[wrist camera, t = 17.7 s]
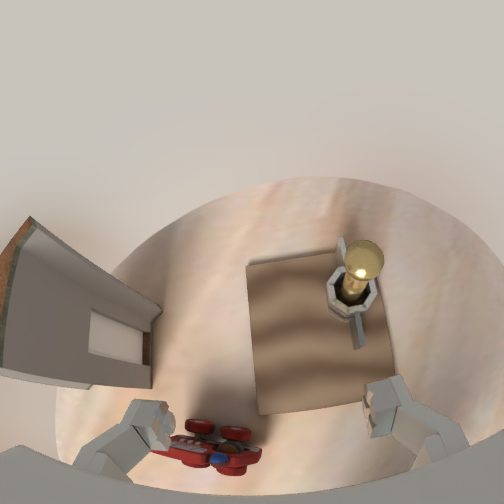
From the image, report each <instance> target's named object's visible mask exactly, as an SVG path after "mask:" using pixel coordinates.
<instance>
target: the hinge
mask: <svg viewBox="0 0 504 504" xmlns="http://www.w3.org/2000/svg"><path fill="white" fill-rule="evenodd" d="M345 253H346V246H345V242H344V238H343V237H338V241H337V247H336V253H335V254H336V258H337V263H338V268H337V269H336V271H335V272H334V273H333V275H332V276H331V278H330V279H329V280H328V282H327V284H326V289H325V299H326V305H327V311H328V313H330V314H331V315H333V316H334V317H336V318H337V319H338V320H340V321H341V322H346V321H349V325H350V330H351V337H352V343H353V349H354V350H359V349H360V348H362V347H363V346H365V345H366V344H365V338H364V332H363V327H362V321H361V317H362V316H363V315H364V313H365V312H366V311H367V309H368V308H369V306H370V305H371V303H372V302H373V300H374V298H375V297H376V295H377V289H376V285H375V281H374V279H372V280H370V281H368V283H367V285H366V287H365V289H364V291H363V292H362V295H363V300H364V304H363V305H358V306H352V307H347V306H346V305H345V304H343V303H342V302H340V301H339V300H337V299H336V296H335V291H334V290H335V289H336V288H337V286H338V285H342V284H343V281H344V277H345V274H346V269H345V267H344V257H345Z"/></svg>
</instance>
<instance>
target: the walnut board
mask: <svg viewBox="0 0 504 504" xmlns="http://www.w3.org/2000/svg"><path fill="white" fill-rule="evenodd" d="M335 253H336V252H333V253H327V254H320V255H314V256H308V257H302V258H295V259H289V260H282V261H276V262H269V263H263V264H256V265H250V266H246V278H247V290H248V302H249V314H250V326H251V337H252V349H253V360H254V371H255V382H256V393H257V404H258V415H270V414H281V413H290V412H299V411H307V410H314V409H320V408H327V407H333V406H338V405H344V404H349V403H354V402H359V401H362V400H363V396H364V395H365V394H364V390H363V387H364V383H367V382H372V381H376V380H380V379H384V378H388V377H392V376H395V370H394V363H393V357H392V350H391V344H390V339H389V333H388V328H387V323H386V318H385V313H384V308H383V303H382V299H381V294H380V290H379V286H378V281H377V277H376V278H374V281H375V285H376V289H377V295H376V297H375V298H374V300H373V302H372V303H371V305H370V306H369V308H368V309H367V311H366V312H365V313H364V315H363V316H362V317H361V321H362V327H363V332H364V338H365V344H366V345H365V346H363V347H362V348H360V349H359V350H354V349H353V343H352V337H351V330H350V325H349V321H346V322H341V321H340V320H338V319H337V318H336V317H334V316H333V315H331V314H330V313H328V311H327V305H326V299H325V289H326V284H327V282H328V280H329V279H330V278H331V276H332V275H333V273H334V272H335V271H336V269H337V268H338V263H337V258H336V254H335ZM341 287H342V285H338V286H337V288H336V289H335V290H334V291H335V296H336V299H337V300H338V296H339V293H340V290H341ZM363 304H364V300H363V295H362V294H361V296H360V298H359V300H358V301H357V303H356V305H355V306H358V305H363Z"/></svg>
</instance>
